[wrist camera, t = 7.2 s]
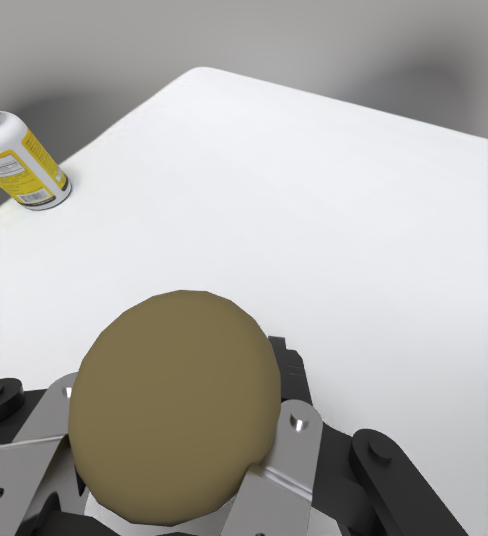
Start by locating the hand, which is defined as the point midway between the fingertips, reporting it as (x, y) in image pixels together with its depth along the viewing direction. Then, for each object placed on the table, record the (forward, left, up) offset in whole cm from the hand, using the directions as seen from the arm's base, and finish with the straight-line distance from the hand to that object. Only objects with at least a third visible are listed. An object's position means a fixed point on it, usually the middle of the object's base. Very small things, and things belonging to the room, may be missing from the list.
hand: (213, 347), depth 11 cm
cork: (0, +2, -5) cm, 6 cm away
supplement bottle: (+25, -11, -8) cm, 28 cm away
